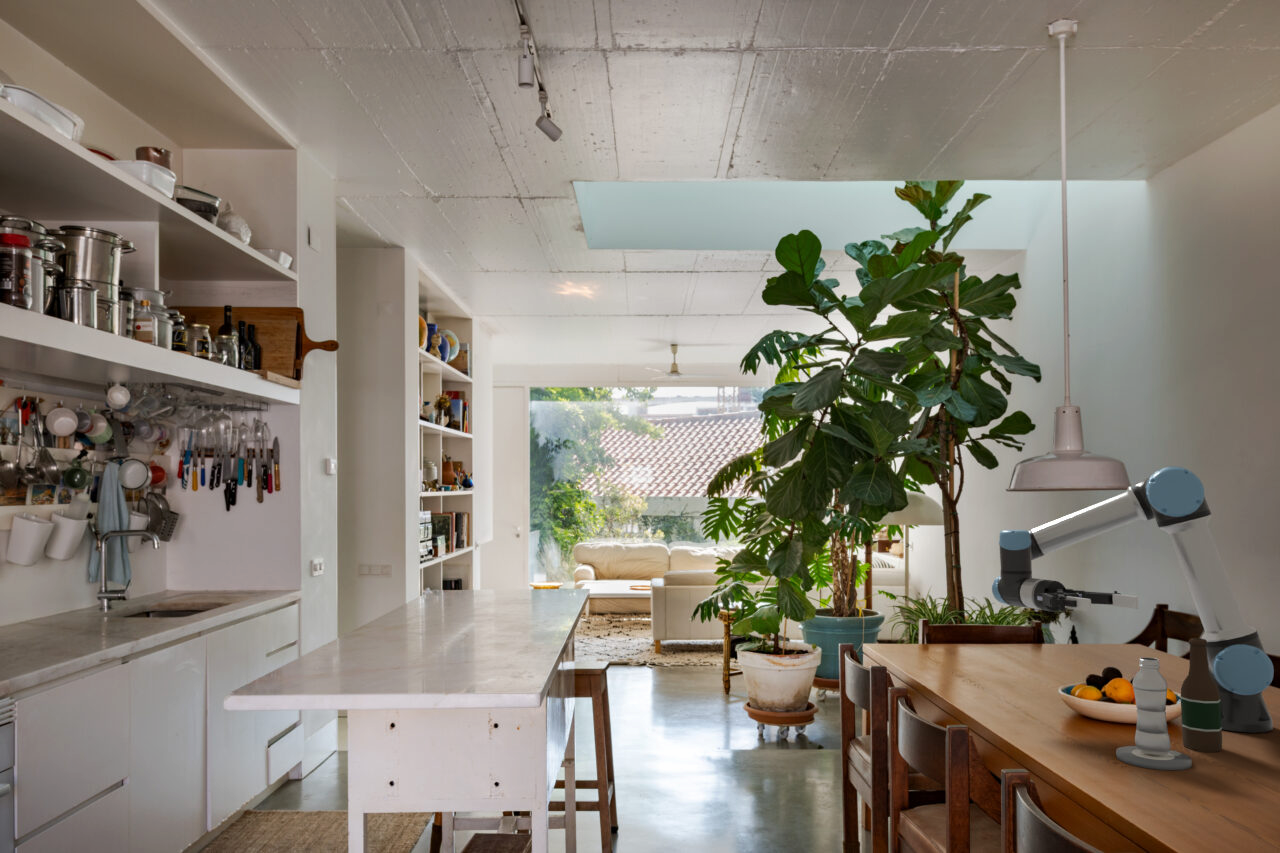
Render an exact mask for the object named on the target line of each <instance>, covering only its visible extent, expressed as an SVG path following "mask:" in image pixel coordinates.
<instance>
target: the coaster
mask: <svg viewBox="0 0 1280 853" xmlns="http://www.w3.org/2000/svg"><path fill="white" fill-rule="evenodd" d="M1115 756H1116V758H1117V759H1118V760H1119V761H1121V762H1122V763H1125V764H1127V765H1131V766H1135V767H1139V768H1144V769H1150V770H1151V769H1152V770H1159V771H1160V770H1161V771H1183V770H1188V769H1190V768H1192V765H1193V764H1192V758H1191V756H1189V755H1188V754H1185V753H1183V752H1180V751H1177V750H1174V749H1173V750H1172V749H1170V751H1169V752H1168V754H1166V755H1150V754H1146V753H1143V752H1140V751H1139V750H1138V748H1137V747H1136V745H1127V746H1120V747H1117V748H1116V749H1115Z"/></svg>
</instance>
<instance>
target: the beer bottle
mask: <svg viewBox="0 0 1280 853" xmlns="http://www.w3.org/2000/svg"><path fill="white" fill-rule="evenodd" d="M1201 638H1202V637H1200V638H1199V637H1191V638H1190V639H1189V640H1188V645H1189V667H1188V668H1189V670H1188V674H1187V676H1186V677H1185V679H1184V680H1183V682H1182V685H1181V688H1180V707H1181V708H1180V712H1181V733H1182V734H1181V736H1182V738H1181V739H1182V746H1183V747H1184V748H1187V749H1190V750H1192V751H1196V752H1203V753H1220V751H1221V750H1222V748H1223V729H1222V724H1221V702H1220V692H1219V689H1218V687H1217V684H1216V683H1215V681H1214V680H1213V679H1212V677H1211V676H1210V672H1209V666H1208V657H1207V649H1206V645H1207V644H1208V643H1207V640H1205V639H1201Z"/></svg>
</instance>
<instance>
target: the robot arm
mask: <svg viewBox="0 0 1280 853" xmlns="http://www.w3.org/2000/svg"><path fill="white" fill-rule="evenodd" d="M1211 518H1212V512H1211V510H1210V507H1209V504H1208V502H1207V499H1206V497H1205V487H1204V485H1203V483H1202V480H1201V479H1200V477H1198V476H1197V475H1196V474H1195V473H1194V472H1193V471H1191V470H1189V469H1187V468H1185V467H1182V466H1181V467H1180V466H1167V467H1163V468H1161V469H1158V470H1156V471H1155V472H1153V473H1152V474H1150V475H1149V476H1148V477H1146V478H1144V479H1142V480H1141V481H1139V482H1136V483H1134V484H1132V485H1129V486H1128V487H1127V488H1126V491H1125V492H1122V493H1120V494H1117V495H1115V496H1113V497H1110V498H1107V499H1105V500H1103V501H1100V502H1097V503H1094V504H1092V505H1089V506H1087V507H1084V508H1083V509H1079V510H1077V511H1074V512H1071V513H1069V514H1067V515H1064V516H1062V517H1060V518H1057V519H1053V520H1051V521H1049V522H1047V523H1044V524H1041V525H1039V526H1036V527H1034V528H1032V529H1030V530H1028V529H1027V530H1026V529H1004V530H1002V529H1001V531H1000V532H999V540H998V541H999V542H998V545H999V558H1000V559H999V560H1000V561H999V562H1000V575H999V576H998V577H996V578H995V579H994V581H993V583H992V585H991V592H992V595H993V598H995V600H997V602H999V603H1001V604H1005V605H1008V606H1011V607H1021V608H1027V609H1034V611H1035V612H1039V611H1041V610H1043V611H1047V612H1053V613H1056V612H1057V613H1058V612H1066V609H1069V610H1076V611H1081V612H1082V611H1083V612H1092V605H1109V606H1111V605H1112V606H1113V607H1119V608H1120V607H1121V608H1127V609H1133V610H1134V609H1135V610H1137V609H1138V610H1139V596H1134V595H1126V594H1122V593H1119V592H1118V591H1117V590H1113V592H1099V591H1098V592H1097V591H1085V590H1078V589H1077V590H1076V589H1073V588H1066V587H1065V585H1064V584H1063V583H1062V582H1060V581H1058V580H1051V579H1045V578H1035V577H1033V570H1032V568H1033V567H1032V561H1033V560H1036V559H1038V558H1041V557H1043V556H1046V555H1049V554H1051V553H1055V552H1056V551H1060V550H1061V549H1065V548H1067V547H1070V546H1072V545H1076V544H1078V543H1080V542H1083V541H1085V540H1088V539H1091V538H1094V537H1097V536H1099V535H1101V534H1104V533H1107V532H1110V531H1112V530H1114V529H1118V528H1121V527H1122V526H1126V525H1128V524H1131V523H1133V522H1136V521H1138V520H1142V521H1145V522H1148V521H1151V520H1153V519H1155V522H1156V524H1157V527H1158V529H1159V530H1162V531H1163V532H1165V533H1167V534H1168V537H1169V539H1170V542H1171V544H1172V547H1173V549H1174V552H1175V556H1176V558H1177V560H1178V563H1179V567H1180V569H1181V572H1182V573H1183V577H1184V579H1185V582H1186V584H1187V587H1188V589H1189V593H1190V595H1191V597H1192V600H1193V603H1194V606H1195V608H1196V610H1197V613H1198V616H1199V619H1200V622H1201V624H1202V627H1203V630H1204V632H1203V635H1202V636H1201V637H1200V638H1201V639H1205V640H1207V643H1208V644H1207V645H1206V649H1207V657H1208V666H1209V672H1210V676H1211V677H1212V679H1213V680H1214V681H1215V683H1216V684H1217V687H1218V689H1219V692H1220V702H1221V724H1222V730H1224V731H1231V732H1239V733H1241V732H1242V733H1257V734H1258V732H1259V733H1267V732H1268V731H1269V732H1272V731H1273V729H1274V727H1273V726H1274V725H1273V719H1272V716H1271V714H1270V712H1269V709H1268V706H1267V704H1266V702H1265V699H1264V697H1263V692H1264V691H1265V690H1266V689H1267V688H1268V687H1269V686H1270V685H1271V683H1272V681H1273V680H1274V671H1275V669H1274V668H1275V667H1274V665H1273V662H1272V660H1271V658H1270V657H1269V656H1268V654H1266V651H1265V649H1264V645H1263V643H1262V641H1261V639H1260V635H1259V633H1258V630H1257V629H1256V628H1255V627H1254V626H1253V625H1249V624H1248V623H1247V622H1246V619H1245V618H1244V615H1243V612H1242V610H1241V607H1240V604H1239V602H1238V599H1237V597H1236V594H1235V592H1234V589H1233V587H1232V585H1231V582H1230V579H1229V576H1228V574H1227V571H1226V568H1225V566H1224V564H1223V561H1222V558H1221V555H1220V553H1219V550H1218V548H1217V545H1216V543H1215V539H1214V536H1213V535H1212V533H1211V529H1210V527H1209V524H1208V523H1209V522H1210V520H1211ZM1271 730H1272V731H1271ZM1269 732H1268V733H1269Z"/></svg>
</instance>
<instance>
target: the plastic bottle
mask: <svg viewBox="0 0 1280 853" xmlns="http://www.w3.org/2000/svg"><path fill="white" fill-rule="evenodd" d="M1138 662H1139V664H1138V667H1139V668H1140V669H1139V671H1138V672H1136V674H1135V675H1134V677H1133V680H1132V687H1133V692H1134V699H1135V705H1136V730H1135V734H1134V735H1135V737H1134V743H1135V746H1136V747H1137V748H1138V750H1139V751H1140V752H1143V753H1146V754H1150V755H1166V754H1168V752H1169V751H1170V750H1171V746H1172V745H1171V738H1170V734H1169V731H1168V724H1167V717H1166V716H1167V715H1166V714H1167V712H1166V710H1167V696H1168V695H1167V694H1168V683H1167V680H1166V679H1165V677H1164V676H1163V674H1162V673H1160V671H1159V669H1160V668H1161V667H1160V659H1159V658H1156V657H1147V656H1146V657H1145V656H1144V657H1140V658H1139V661H1138Z"/></svg>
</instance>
